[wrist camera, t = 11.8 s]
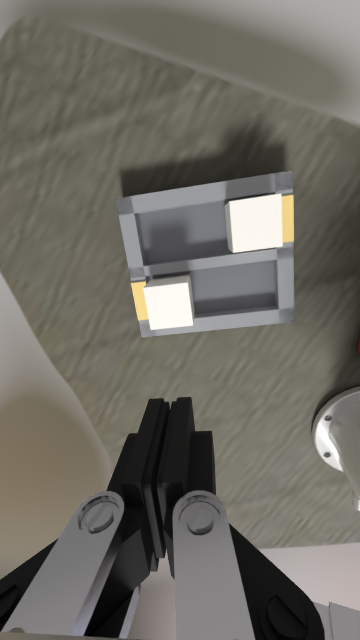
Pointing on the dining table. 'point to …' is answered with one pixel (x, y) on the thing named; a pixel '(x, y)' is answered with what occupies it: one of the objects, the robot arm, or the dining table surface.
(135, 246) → the switch bank
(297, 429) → the dining table surface
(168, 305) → the tab
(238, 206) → the tab
